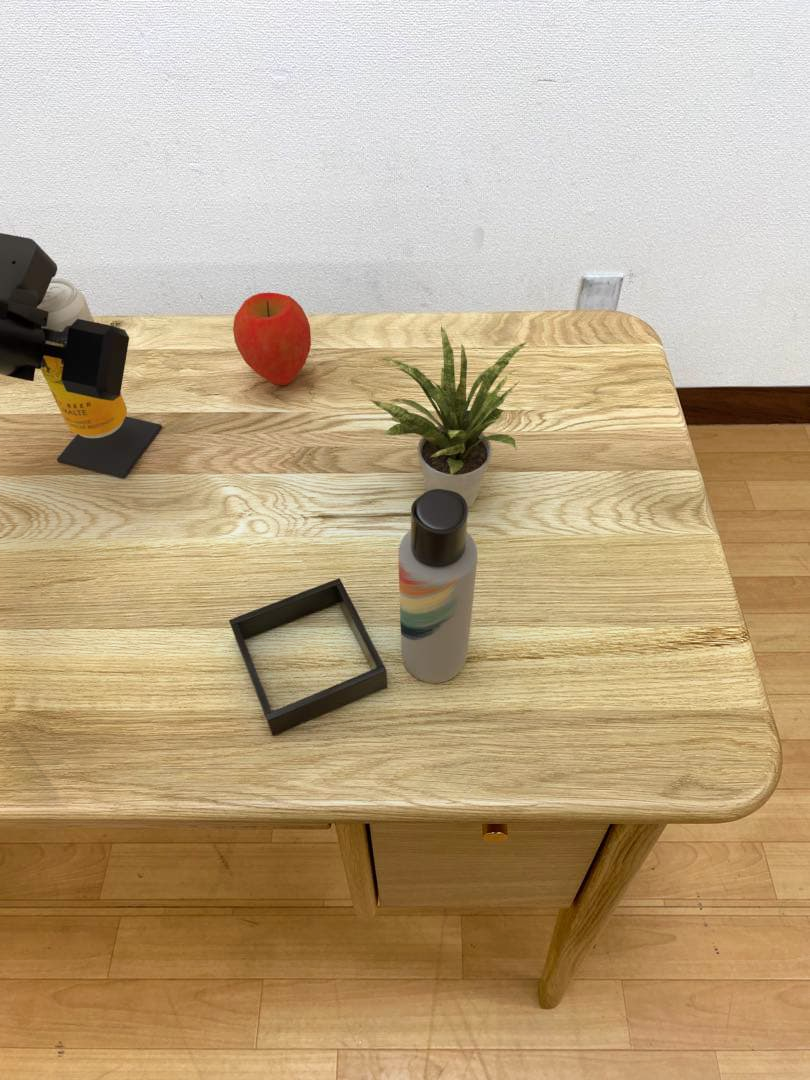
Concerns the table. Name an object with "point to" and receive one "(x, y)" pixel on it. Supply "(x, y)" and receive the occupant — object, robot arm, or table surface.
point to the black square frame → (292, 611)
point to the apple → (273, 336)
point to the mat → (112, 448)
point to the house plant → (453, 423)
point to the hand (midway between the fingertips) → (83, 358)
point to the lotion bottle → (436, 586)
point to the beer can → (76, 409)
